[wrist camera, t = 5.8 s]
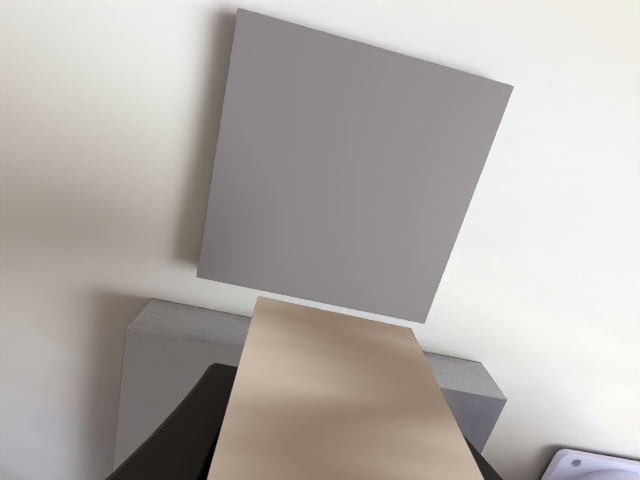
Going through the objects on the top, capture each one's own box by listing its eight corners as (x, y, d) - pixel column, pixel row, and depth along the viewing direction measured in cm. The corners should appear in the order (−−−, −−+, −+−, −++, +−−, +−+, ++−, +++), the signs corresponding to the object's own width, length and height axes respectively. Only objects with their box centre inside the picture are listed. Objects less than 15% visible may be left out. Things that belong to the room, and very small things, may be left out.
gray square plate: (500, 88, 14) (513, 86, 13) (417, 312, 17) (424, 323, 16) (243, 15, 13) (238, 7, 12) (202, 267, 16) (196, 277, 15)
